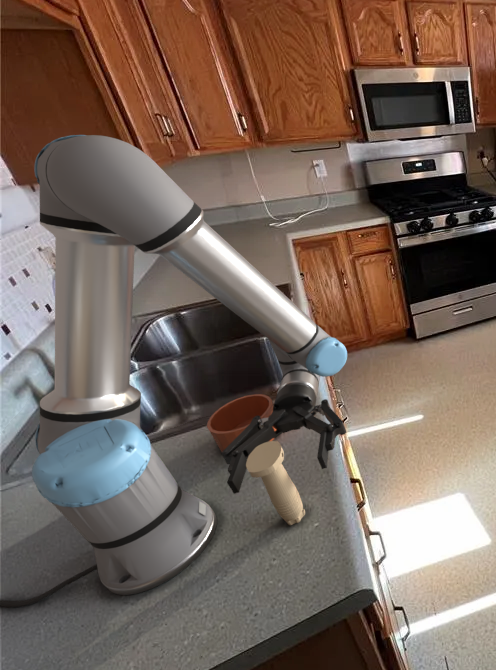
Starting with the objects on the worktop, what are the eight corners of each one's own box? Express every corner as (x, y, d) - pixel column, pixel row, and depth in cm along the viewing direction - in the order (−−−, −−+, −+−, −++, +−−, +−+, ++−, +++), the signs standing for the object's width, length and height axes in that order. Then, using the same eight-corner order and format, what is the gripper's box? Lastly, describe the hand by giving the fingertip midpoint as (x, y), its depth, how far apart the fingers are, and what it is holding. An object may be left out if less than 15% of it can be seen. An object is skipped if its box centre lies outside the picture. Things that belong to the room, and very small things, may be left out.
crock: (230, 466, 83) (216, 442, 80) (213, 438, 91) (200, 416, 88) (290, 431, 91) (280, 409, 88) (270, 408, 99) (260, 387, 95)
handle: (312, 498, 75) (283, 437, 68) (309, 528, 70) (277, 466, 62) (283, 507, 74) (251, 446, 67) (278, 538, 68) (242, 476, 61)
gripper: (363, 396, 91) (362, 468, 73) (238, 427, 85) (203, 513, 67) (354, 368, 87) (351, 437, 69) (223, 398, 81) (182, 481, 64)
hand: (278, 475), depth 68 cm, fingers open, 13 cm apart
